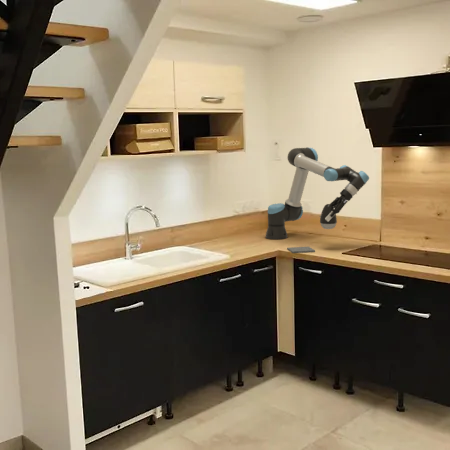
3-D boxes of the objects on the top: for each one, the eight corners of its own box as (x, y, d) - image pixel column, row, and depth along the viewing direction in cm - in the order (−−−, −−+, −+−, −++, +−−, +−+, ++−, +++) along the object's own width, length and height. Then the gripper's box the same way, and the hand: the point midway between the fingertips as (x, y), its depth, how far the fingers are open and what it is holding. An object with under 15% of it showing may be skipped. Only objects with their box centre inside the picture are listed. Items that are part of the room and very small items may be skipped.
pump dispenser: (337, 229, 352) (337, 204, 349) (319, 229, 354) (319, 204, 352) (337, 227, 362) (337, 203, 359) (320, 227, 364) (320, 203, 361)
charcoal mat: (287, 249, 361) (287, 247, 361) (308, 248, 363) (308, 246, 363) (292, 253, 348) (292, 251, 348) (315, 252, 351) (315, 250, 350)
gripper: (359, 198, 346) (334, 225, 346) (346, 195, 368) (322, 220, 368) (351, 189, 345) (325, 217, 345) (338, 187, 367) (314, 212, 367)
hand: (323, 219), depth 356 cm, fingers closed on pump dispenser, 10 cm apart
